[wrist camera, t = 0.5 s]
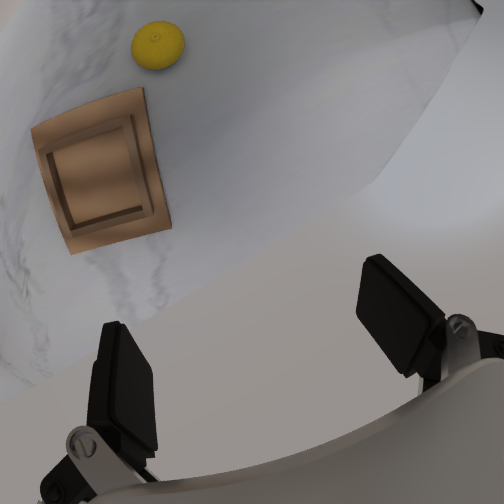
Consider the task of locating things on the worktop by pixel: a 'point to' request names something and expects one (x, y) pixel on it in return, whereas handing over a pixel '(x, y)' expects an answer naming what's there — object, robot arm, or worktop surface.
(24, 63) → the worktop surface
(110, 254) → the worktop surface
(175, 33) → the lemon
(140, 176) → the board
